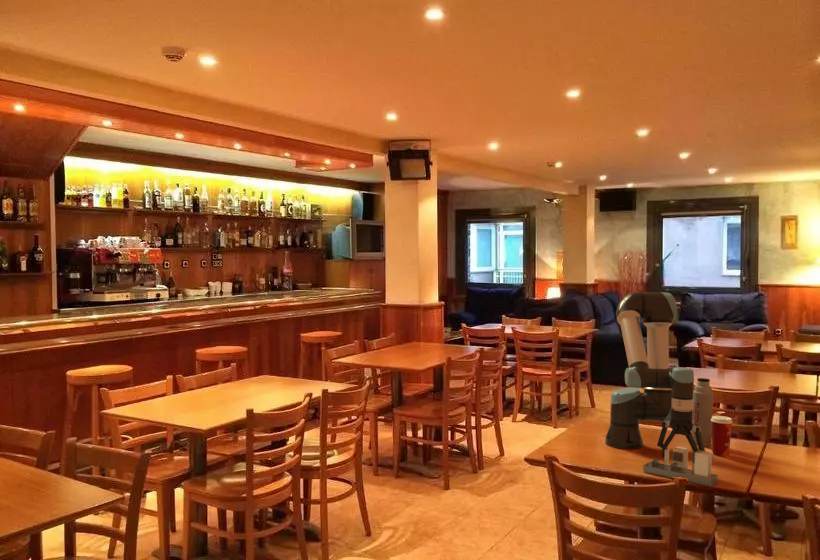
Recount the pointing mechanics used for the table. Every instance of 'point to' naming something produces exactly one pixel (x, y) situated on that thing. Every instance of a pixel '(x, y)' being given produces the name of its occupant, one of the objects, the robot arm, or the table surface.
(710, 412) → the thermos bottle
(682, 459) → the cream rectangular block
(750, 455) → the table surface
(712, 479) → the rail
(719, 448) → the coffee cup
